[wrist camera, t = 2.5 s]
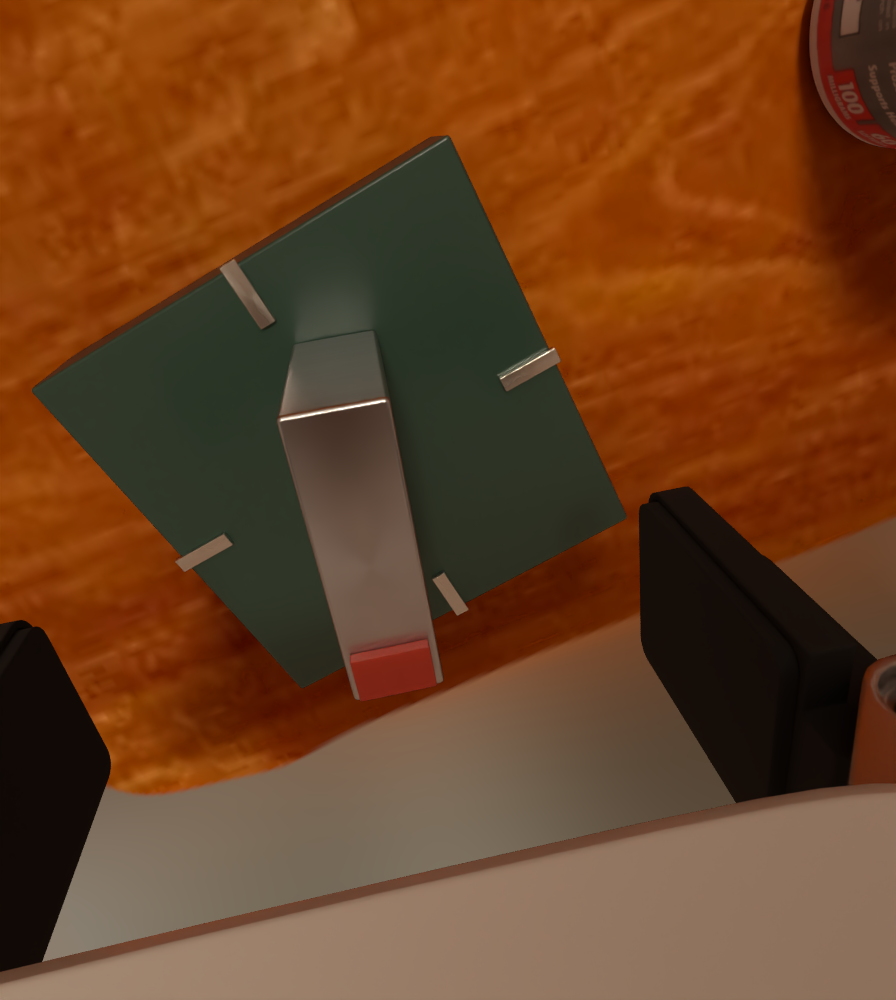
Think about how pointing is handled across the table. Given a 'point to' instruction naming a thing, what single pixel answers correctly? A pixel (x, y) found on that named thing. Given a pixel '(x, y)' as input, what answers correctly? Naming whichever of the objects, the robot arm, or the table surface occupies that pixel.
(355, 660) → the tap handle
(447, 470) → the panel
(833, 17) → the pill bottle
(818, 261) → the table surface
